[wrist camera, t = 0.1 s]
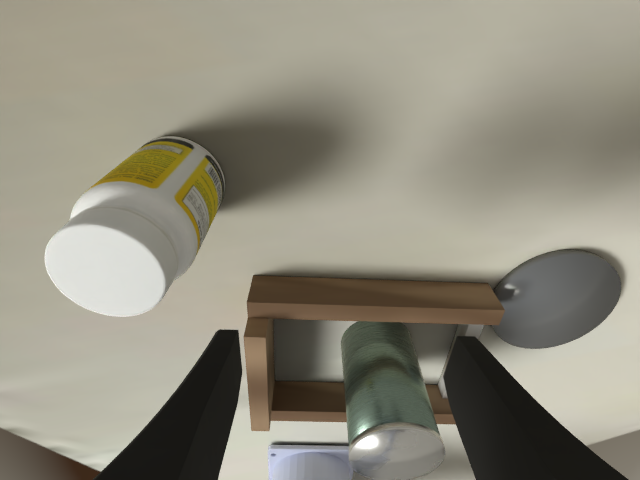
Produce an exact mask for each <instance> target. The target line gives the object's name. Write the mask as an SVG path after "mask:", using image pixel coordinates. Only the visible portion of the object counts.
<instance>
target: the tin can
mask: <svg viewBox="0 0 640 480" xmlns="http://www.w3.org/2000/svg"><path fill="white" fill-rule="evenodd" d="M341 350H342V363H343V376H344V389H345V402H346V415H347V428H348V441H349V451H348V453H349V462H350V465H351V467H352V468H353V470H355V471H356V472H357V473H358V474H360V475H362V476H364V477H367V478H369V479H373V480H410V479H414V478H417V477H420V476H423V475H425V474H427V473H429V472H431V471H433V470H434V469H435V468H437V467H438V466H439V465H440V464H441V463H442V461H443V459H444V457H445V448H444V444H443V441H442V439H441V437H440V434H439V431H438V427H437V424H436V420H435V417H434V414H433V410H432V407H431V403H430V400H429V397H428V393H427V390H426V386H425V383H424V380H423V376H422V373H421V369H420V366H419V363H418V359H417V356H416V352H415V349H414V346H413V342H412V339H411V335H410V333H409V330H408V329H407V328H406V327H405V325H403V324H402V323H401V322H372V321H358V322H356V323H355V324H353V325H352V326H350V327H349V328H348V329H347V330H346V331H345V333H344V335H343V337H342V340H341Z"/></svg>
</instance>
